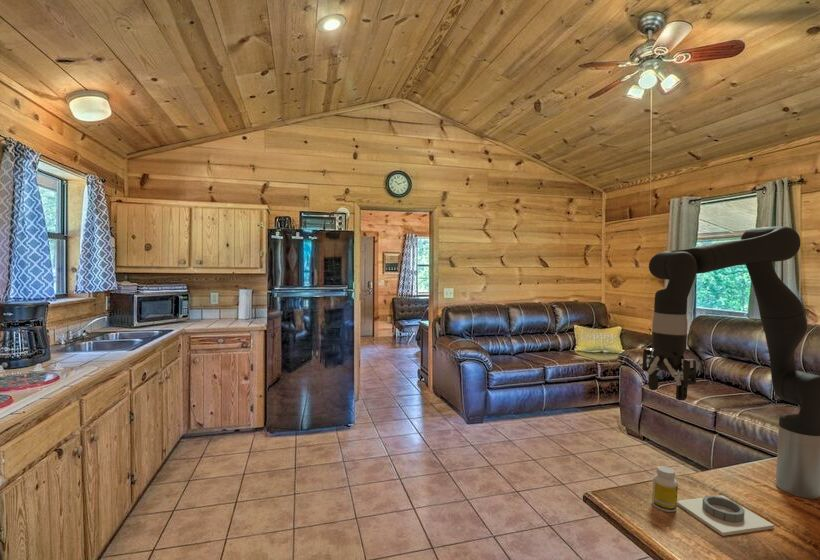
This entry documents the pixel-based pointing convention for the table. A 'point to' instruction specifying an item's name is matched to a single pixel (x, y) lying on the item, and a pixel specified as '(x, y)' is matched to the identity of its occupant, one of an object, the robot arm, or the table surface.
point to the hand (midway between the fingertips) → (666, 394)
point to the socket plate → (723, 525)
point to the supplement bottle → (665, 489)
